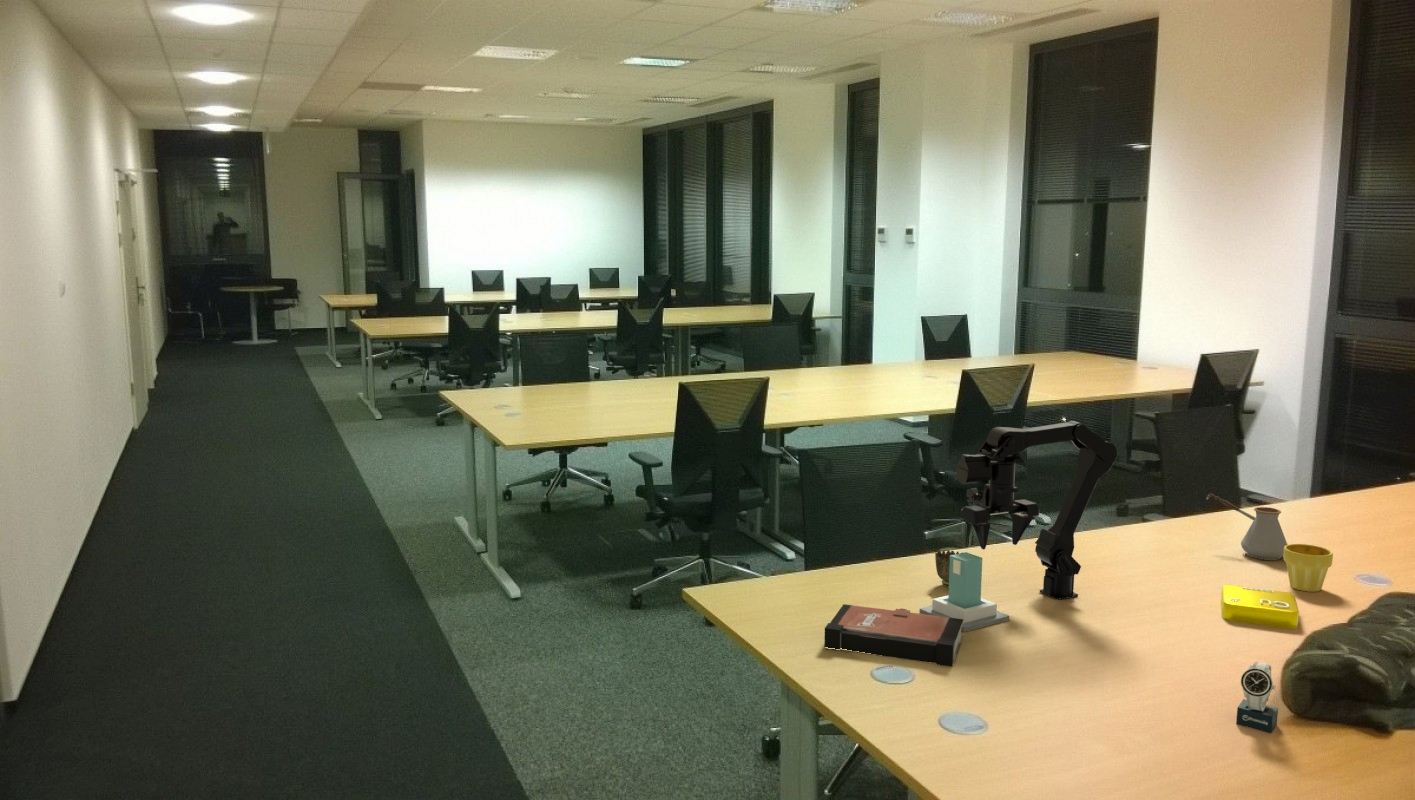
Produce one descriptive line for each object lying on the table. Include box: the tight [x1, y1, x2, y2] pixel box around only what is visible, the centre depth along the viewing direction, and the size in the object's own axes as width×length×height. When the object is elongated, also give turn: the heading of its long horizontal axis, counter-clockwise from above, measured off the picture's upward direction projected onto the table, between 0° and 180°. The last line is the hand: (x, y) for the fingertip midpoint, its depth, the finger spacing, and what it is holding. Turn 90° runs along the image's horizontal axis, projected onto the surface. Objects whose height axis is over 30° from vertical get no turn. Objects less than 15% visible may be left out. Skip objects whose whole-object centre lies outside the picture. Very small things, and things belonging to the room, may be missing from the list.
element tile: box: [1220, 584, 1300, 630], centre depth 233 cm, size 15×15×5 cm
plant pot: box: [1283, 543, 1334, 593], centre depth 251 cm, size 10×10×10 cm
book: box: [823, 604, 964, 668], centre depth 217 cm, size 26×18×5 cm
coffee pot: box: [1205, 492, 1289, 561], centre depth 279 cm, size 21×12×15 cm, turn 46°
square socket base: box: [918, 594, 1010, 633], centre depth 232 cm, size 14×14×4 cm
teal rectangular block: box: [948, 551, 983, 609], centre depth 231 cm, size 5×5×13 cm
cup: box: [934, 550, 964, 588], centre depth 253 cm, size 8×7×8 cm
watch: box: [1235, 661, 1279, 734], centre depth 179 cm, size 6×8×11 cm
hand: (998, 546), depth 241 cm, fingers open, 9 cm apart
